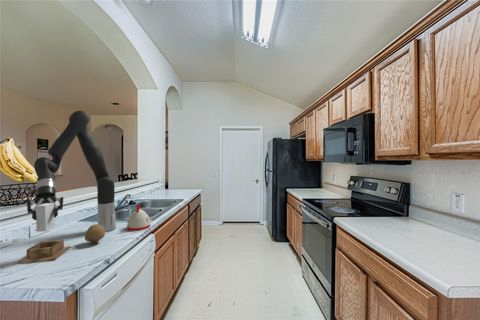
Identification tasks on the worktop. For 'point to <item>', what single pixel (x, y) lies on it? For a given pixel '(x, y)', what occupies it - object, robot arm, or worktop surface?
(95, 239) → the natural sponge
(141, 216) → the kitchen timer
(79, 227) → the worktop surface
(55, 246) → the socket
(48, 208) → the skincare box
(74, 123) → the robot arm
